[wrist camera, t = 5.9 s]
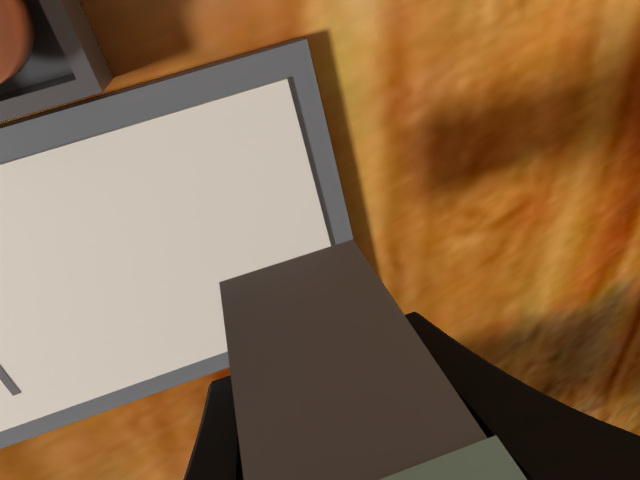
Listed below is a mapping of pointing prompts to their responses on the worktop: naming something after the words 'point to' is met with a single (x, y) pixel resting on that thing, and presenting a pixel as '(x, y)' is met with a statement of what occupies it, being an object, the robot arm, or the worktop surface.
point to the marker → (343, 381)
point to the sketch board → (152, 228)
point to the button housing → (56, 62)
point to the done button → (15, 37)
